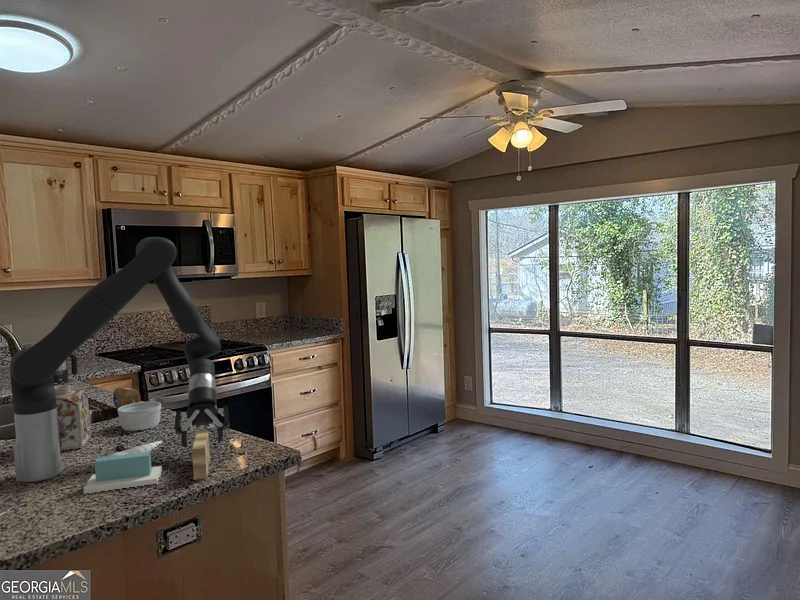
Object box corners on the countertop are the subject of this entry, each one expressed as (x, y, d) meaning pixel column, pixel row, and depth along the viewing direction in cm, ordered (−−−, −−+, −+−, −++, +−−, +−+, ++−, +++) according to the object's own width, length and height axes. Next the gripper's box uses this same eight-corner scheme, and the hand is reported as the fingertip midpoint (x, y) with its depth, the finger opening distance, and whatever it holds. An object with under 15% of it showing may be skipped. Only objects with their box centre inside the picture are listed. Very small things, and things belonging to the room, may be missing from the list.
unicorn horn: (174, 443, 169) (172, 427, 169) (122, 473, 146) (121, 455, 146) (159, 442, 170) (158, 427, 170) (106, 472, 147) (104, 454, 146)
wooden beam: (206, 479, 139) (204, 447, 139) (193, 481, 139) (192, 449, 138) (210, 458, 155) (208, 429, 154) (198, 459, 154) (197, 430, 153)
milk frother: (54, 385, 258) (52, 354, 257) (31, 384, 264) (28, 352, 263) (82, 379, 271) (80, 349, 270) (59, 377, 277) (57, 348, 276)
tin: (113, 408, 213) (111, 386, 212) (121, 406, 215) (119, 385, 215) (135, 414, 204) (133, 391, 203) (143, 411, 207) (141, 389, 206)
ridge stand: (84, 494, 132) (82, 467, 132) (93, 480, 141) (91, 454, 140) (157, 484, 137) (155, 458, 136) (161, 471, 145) (160, 446, 145)
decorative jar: (91, 437, 177) (87, 381, 176) (83, 448, 166) (79, 388, 165) (48, 442, 173) (44, 384, 172) (37, 454, 162) (32, 392, 161)
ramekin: (113, 427, 188) (112, 406, 187) (154, 418, 197) (153, 399, 196) (126, 435, 178) (124, 413, 178) (168, 426, 187) (167, 405, 186)
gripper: (174, 387, 156) (172, 440, 146) (227, 383, 160) (229, 434, 150) (177, 402, 162) (175, 453, 152) (228, 397, 166) (230, 447, 156)
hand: (202, 443), depth 151 cm, fingers open, 8 cm apart
